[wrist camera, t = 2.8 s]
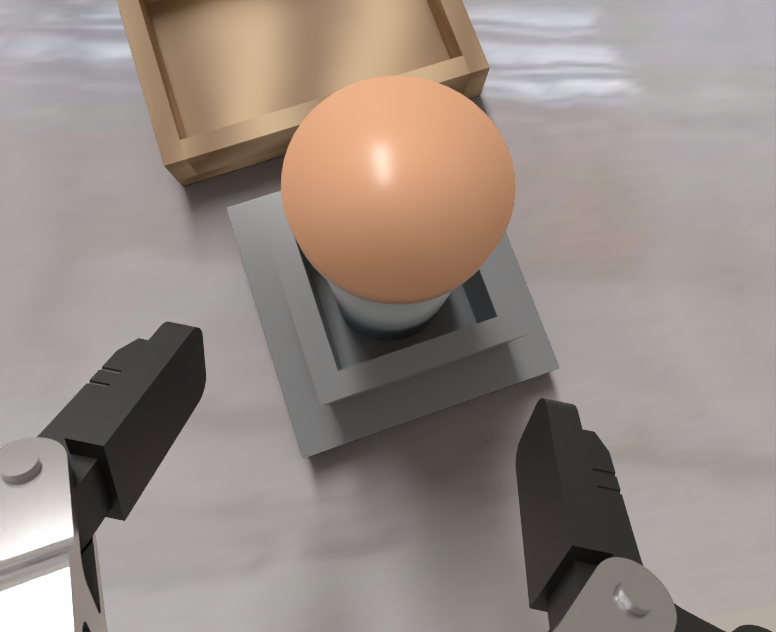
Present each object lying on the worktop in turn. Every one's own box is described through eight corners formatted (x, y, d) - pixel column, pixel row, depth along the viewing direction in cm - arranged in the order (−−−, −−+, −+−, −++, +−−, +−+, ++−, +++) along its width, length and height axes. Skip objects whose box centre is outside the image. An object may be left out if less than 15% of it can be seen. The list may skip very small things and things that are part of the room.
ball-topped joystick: (350, 364, 22) (322, 329, 11) (312, 249, 23) (252, 113, 12) (468, 324, 22) (550, 252, 12) (426, 212, 23) (467, 49, 12)
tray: (183, 186, 25) (164, 165, 23) (129, 2, 27) (107, -33, 24) (480, 95, 26) (489, 67, 24) (410, -76, 28) (413, -116, 26)
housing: (307, 454, 23) (287, 469, 18) (235, 219, 25) (199, 173, 20) (548, 370, 24) (592, 362, 19) (461, 148, 26) (480, 88, 21)
